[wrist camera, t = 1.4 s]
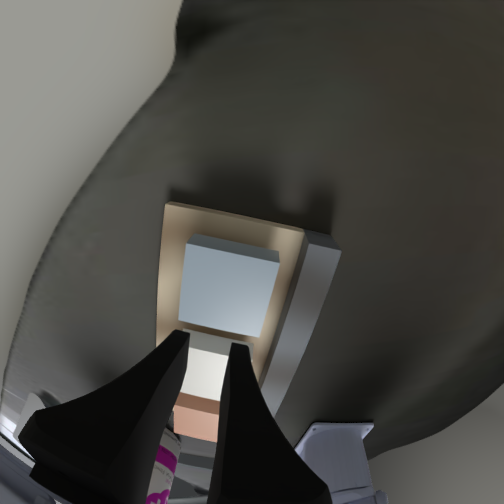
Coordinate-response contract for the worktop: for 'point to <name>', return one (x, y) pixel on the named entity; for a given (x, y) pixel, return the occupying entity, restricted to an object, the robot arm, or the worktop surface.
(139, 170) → the worktop surface
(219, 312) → the key slate
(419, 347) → the worktop surface
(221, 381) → the key middle
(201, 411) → the key terracotta
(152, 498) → the supplement can
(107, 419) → the robot arm
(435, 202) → the worktop surface
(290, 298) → the keypad base
